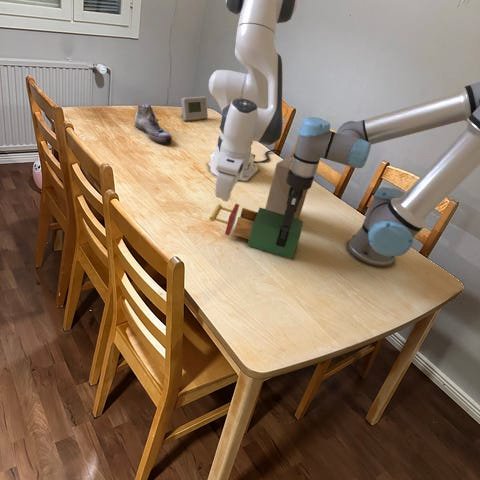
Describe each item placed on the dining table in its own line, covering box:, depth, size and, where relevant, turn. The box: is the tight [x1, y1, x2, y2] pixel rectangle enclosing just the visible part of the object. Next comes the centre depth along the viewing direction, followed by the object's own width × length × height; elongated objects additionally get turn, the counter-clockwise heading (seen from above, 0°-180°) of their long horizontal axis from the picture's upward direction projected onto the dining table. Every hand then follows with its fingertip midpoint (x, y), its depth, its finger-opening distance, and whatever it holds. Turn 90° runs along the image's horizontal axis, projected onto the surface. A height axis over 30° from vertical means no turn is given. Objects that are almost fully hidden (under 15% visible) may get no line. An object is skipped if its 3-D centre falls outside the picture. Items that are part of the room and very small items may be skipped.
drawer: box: [209, 203, 258, 240], centre depth 138 cm, size 19×9×7 cm, turn 78°
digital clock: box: [180, 95, 209, 122], centre depth 224 cm, size 16×9×11 cm, turn 123°
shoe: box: [134, 102, 172, 145], centre depth 194 cm, size 25×11×12 cm, turn 30°
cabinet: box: [247, 207, 304, 260], centre depth 137 cm, size 14×10×9 cm
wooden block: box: [264, 156, 309, 219], centre depth 151 cm, size 10×10×20 cm
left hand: (225, 199), depth 135 cm, fingers closed
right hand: (282, 236), depth 138 cm, fingers closed on cabinet, 10 cm apart
